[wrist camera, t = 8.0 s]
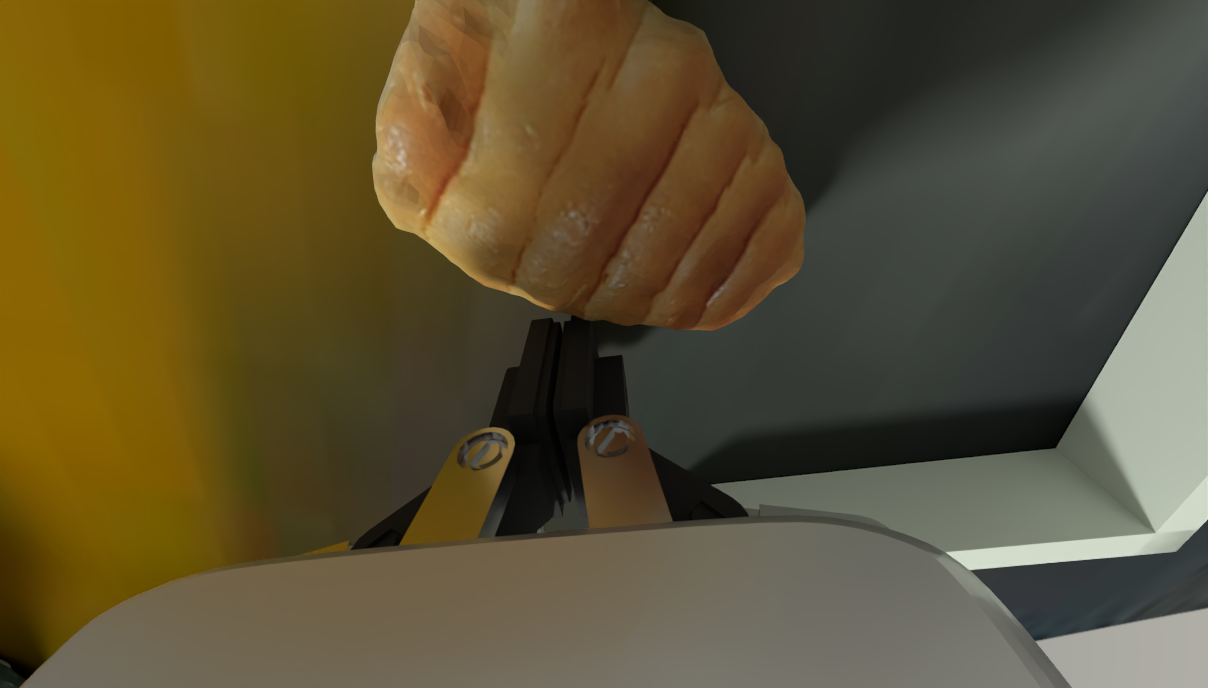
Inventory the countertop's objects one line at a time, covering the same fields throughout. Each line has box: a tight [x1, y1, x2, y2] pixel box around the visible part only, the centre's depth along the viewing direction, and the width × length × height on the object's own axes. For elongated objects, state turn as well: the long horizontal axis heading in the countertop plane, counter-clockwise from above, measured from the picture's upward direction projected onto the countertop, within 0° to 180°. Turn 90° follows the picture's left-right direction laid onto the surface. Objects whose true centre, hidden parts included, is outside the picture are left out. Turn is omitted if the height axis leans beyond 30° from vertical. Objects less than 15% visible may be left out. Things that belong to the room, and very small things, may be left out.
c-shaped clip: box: [712, 192, 1208, 570], centre depth 11 cm, size 18×16×4 cm
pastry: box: [372, 0, 806, 330], centre depth 9 cm, size 9×7×4 cm
